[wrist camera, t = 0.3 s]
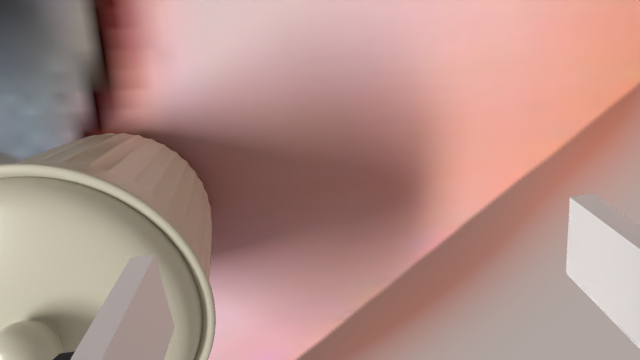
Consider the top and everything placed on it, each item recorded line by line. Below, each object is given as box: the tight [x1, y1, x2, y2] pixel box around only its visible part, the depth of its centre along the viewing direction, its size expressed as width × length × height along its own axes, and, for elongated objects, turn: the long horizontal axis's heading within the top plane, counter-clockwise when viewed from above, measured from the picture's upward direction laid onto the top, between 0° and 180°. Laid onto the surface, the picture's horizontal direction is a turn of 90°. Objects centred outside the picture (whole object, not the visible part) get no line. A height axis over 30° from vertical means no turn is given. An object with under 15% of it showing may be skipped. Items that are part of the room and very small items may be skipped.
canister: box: [0, 133, 216, 360], centre depth 34 cm, size 18×18×21 cm
